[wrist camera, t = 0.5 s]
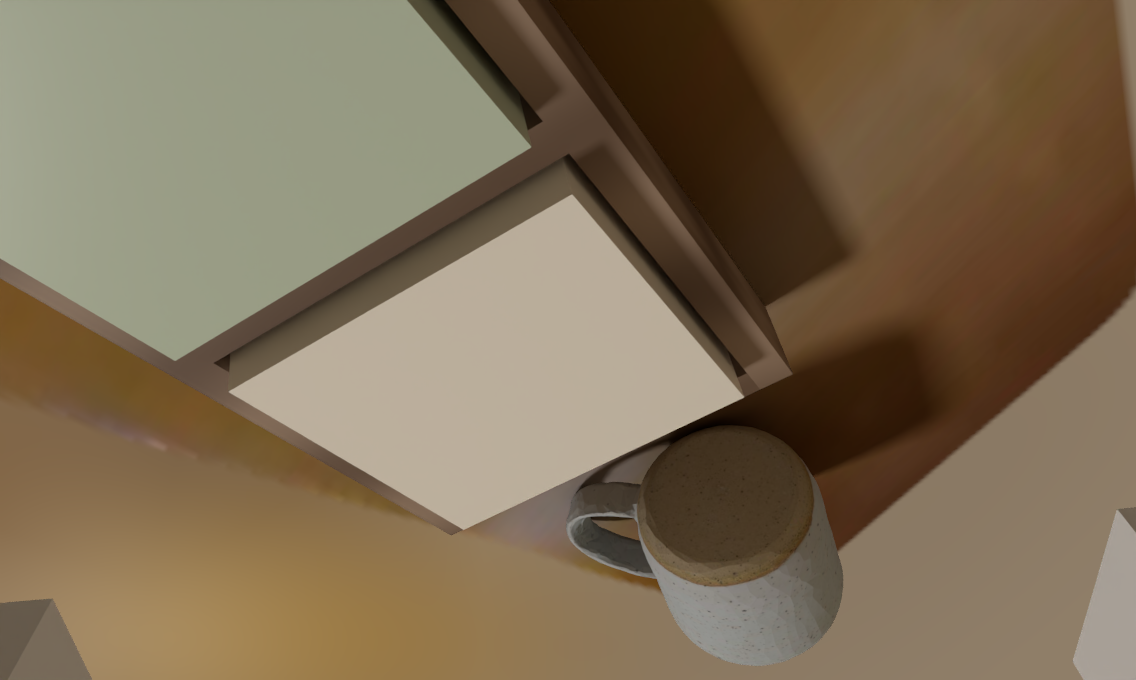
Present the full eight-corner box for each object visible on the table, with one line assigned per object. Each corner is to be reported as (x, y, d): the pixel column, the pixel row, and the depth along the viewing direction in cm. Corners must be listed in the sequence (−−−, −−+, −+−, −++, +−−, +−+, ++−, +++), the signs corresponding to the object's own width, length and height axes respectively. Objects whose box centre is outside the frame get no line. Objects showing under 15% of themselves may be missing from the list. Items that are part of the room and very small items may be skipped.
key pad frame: (-371, -61, 19) (-445, 24, 17) (141, -577, 15) (118, -542, 13) (443, 468, 38) (450, 535, 36) (765, 307, 34) (793, 374, 32)
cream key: (232, 315, 28) (228, 392, 26) (552, 121, 25) (572, 194, 23) (455, 463, 36) (463, 530, 34) (720, 331, 33) (744, 397, 31)
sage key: (-262, -13, 19) (-320, 70, 17) (142, -390, 16) (123, -335, 14) (183, 283, 27) (175, 360, 25) (513, 74, 23) (531, 147, 22)
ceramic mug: (784, 387, 38) (850, 564, 33) (810, 481, 44) (869, 641, 40) (534, 467, 40) (563, 647, 35) (593, 547, 46) (624, 709, 41)
